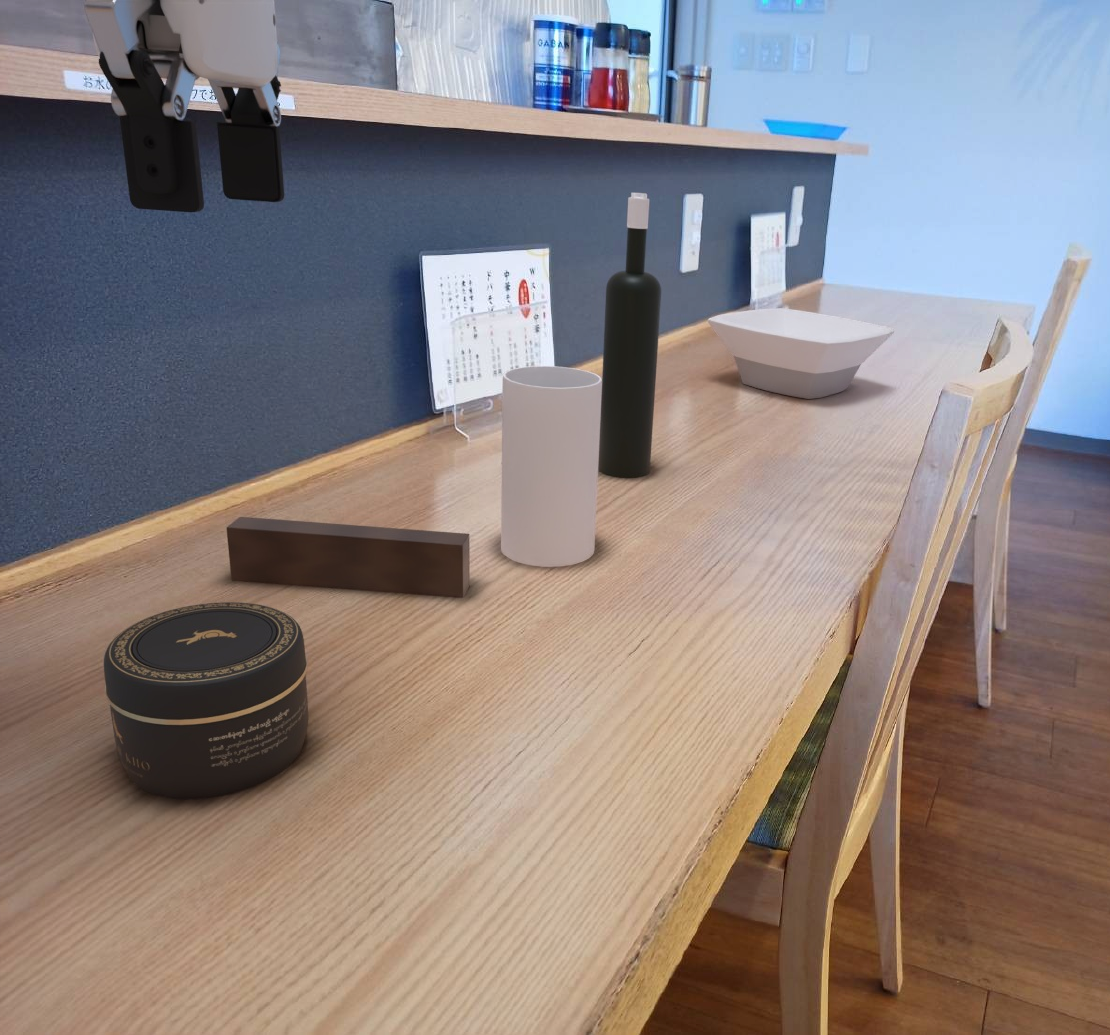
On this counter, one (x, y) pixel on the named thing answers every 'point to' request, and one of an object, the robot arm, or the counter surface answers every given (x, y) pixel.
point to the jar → (208, 698)
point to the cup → (549, 464)
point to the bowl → (797, 349)
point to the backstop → (349, 557)
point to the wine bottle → (630, 356)
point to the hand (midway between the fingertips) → (215, 204)
